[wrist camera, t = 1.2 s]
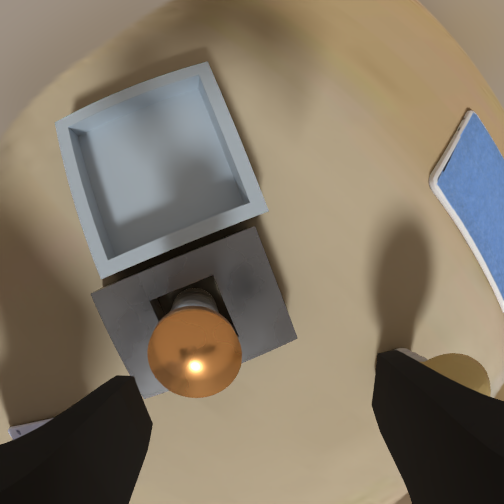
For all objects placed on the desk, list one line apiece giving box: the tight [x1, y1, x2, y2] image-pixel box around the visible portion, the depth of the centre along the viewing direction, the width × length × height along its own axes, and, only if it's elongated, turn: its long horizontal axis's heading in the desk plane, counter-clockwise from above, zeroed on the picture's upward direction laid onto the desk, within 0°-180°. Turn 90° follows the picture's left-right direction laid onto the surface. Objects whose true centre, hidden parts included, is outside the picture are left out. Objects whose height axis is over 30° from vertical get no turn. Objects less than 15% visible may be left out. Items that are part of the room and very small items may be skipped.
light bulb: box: [395, 348, 491, 397], centre depth 17 cm, size 6×6×10 cm
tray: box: [55, 61, 269, 279], centre depth 17 cm, size 10×10×2 cm
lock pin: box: [147, 288, 242, 398], centre depth 15 cm, size 4×4×8 cm
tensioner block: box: [91, 226, 297, 399], centre depth 18 cm, size 10×7×2 cm
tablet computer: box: [429, 110, 504, 313], centre depth 24 cm, size 19×13×1 cm, turn 47°
